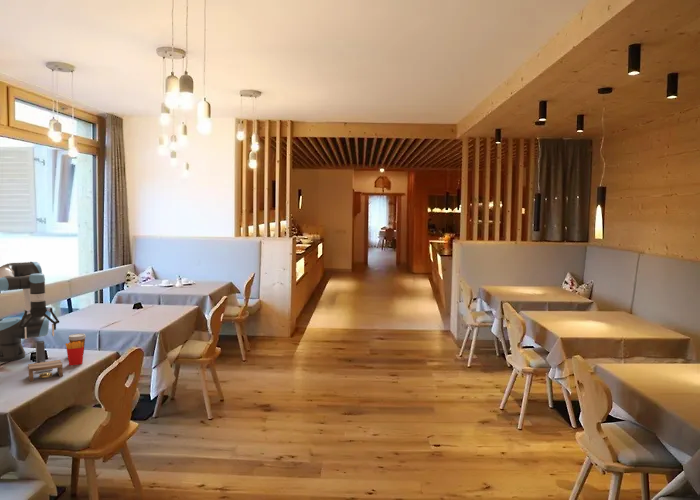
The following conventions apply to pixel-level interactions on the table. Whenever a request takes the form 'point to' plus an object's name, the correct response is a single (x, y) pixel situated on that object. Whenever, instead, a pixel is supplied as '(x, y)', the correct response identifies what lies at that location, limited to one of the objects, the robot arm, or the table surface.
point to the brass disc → (45, 375)
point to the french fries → (75, 353)
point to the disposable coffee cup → (77, 338)
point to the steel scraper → (40, 354)
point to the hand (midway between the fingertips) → (39, 337)
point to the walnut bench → (45, 367)
